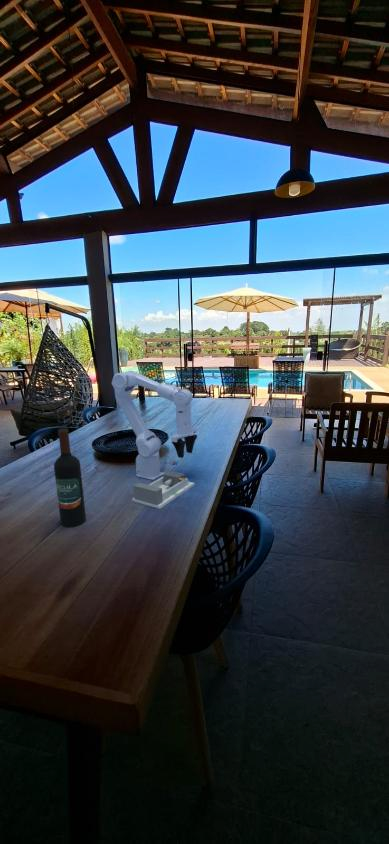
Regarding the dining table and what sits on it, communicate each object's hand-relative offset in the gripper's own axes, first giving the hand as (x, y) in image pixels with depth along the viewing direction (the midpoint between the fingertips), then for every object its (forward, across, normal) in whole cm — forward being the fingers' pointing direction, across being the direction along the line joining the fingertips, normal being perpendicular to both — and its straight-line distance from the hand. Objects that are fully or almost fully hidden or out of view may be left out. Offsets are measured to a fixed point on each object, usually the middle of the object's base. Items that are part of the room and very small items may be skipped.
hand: (185, 455), depth 143 cm
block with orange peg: (+9, -9, -1) cm, 13 cm away
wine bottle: (+10, -45, +13) cm, 48 cm away
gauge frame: (+10, -14, 0) cm, 17 cm away
